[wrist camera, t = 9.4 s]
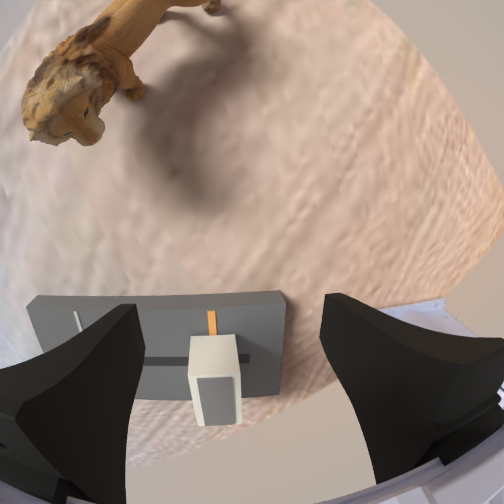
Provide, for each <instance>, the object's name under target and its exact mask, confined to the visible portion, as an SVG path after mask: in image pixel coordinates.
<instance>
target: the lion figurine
mask: <svg viewBox="0 0 504 504" xmlns="http://www.w3.org/2000/svg"><path fill="white" fill-rule="evenodd" d="M199 5H202V7H203V9H204V11H208V12H214V11H216V10H218V8H219V7H220V0H115V1H114V2H113V3H111V4H110V5H109V6H108V7H107V8H106V9H105V10H104V11H103V12H102V13H101V14H100V15H99V16H98V18H97V19H96V20H95V21H94V22H93V23H92V24H91V25H89V26H86V27H84V28H81V29H80V30H78V31H77V33H76V34H75V35H72V36H69V37H68V38H67V39H66V41H64V42H61V43H60V44H58V45H57V47H56V50H54V51H51V52H50V53H49V55H48V56H47V57H45V58H44V59H43V63H42V64H41V65H40V66H39V67H38V68H37V70H36V71H35V76H34V77H33V78H32V79H31V80H29V82H28V84H27V87H26V90H25V93H24V95H23V97H22V100H21V108H22V112H21V115H22V119H23V124H24V125H25V126H26V128H27V129H28V130H29V131H30V134H29V139H30V141H33V140H40V141H41V142H44V143H46V144H51V145H54V146H58V145H59V144H60V143H62V142H65V141H67V140H69V139H70V138H74V139H76V140H77V141H78V142H79V143H80V144H81V145H82V146H91V145H94V144H95V143H97V142H98V141H99V140H100V139H101V137H102V134H103V132H104V131H105V124H104V122H103V121H102V120H101V119H100V118H99V117H98V116H99V114H100V112H101V108H102V107H103V106H104V105H105V104H106V103H108V102H109V101H110V98H111V97H112V96H113V94H114V93H115V92H116V90H117V88H125V89H126V96H127V97H129V99H130V100H137V99H139V98H141V97H143V95H144V87H143V83H142V81H141V80H140V79H139V77H138V76H136V75H135V73H134V70H133V63H132V61H131V60H130V59H129V57H130V56H131V55H132V54H133V53H134V52H135V51H136V50H137V49H138V48H139V47H140V46H141V45H142V44H143V42H144V41H145V40H146V39H147V37H148V36H149V35H150V34H151V32H152V31H153V30H154V28H155V27H156V25H157V24H158V22H159V21H160V19H161V17H162V16H163V15H164V13H165V11H166V10H167V9H168V8H170V7H172V6H181V7H195V6H199Z"/></svg>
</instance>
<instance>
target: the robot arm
mask: <svg viewBox="0 0 504 504" xmlns="http://www.w3.org/2000/svg"><path fill="white" fill-rule="evenodd" d="M445 303H446V301H445V299H444V298H439V299H434V300H429V301H424V302H418V303H413V304H407V305H401V306H395V307H389V308H383V309H375V308H372V307H370V306H368V305H366V304H364V303H362V302H360V301H358V300H356V299H354V298H352V297H349V296H347V295H345V294H342V293H331V294H325V300H324V308H323V315H322V322H321V329H320V336H319V338H320V340H321V343H322V346H323V349H324V352H325V354H326V357H327V359H328V361H329V363H330V364H331V366H332V368H333V370H334V372H335V374H336V375H337V377H338V379H339V381H340V383H341V384H342V386H343V388H344V389H345V392H346V393H347V395H348V397H349V399H350V401H351V403H352V405H353V408H354V410H355V413H356V416H357V418H358V421H359V423H360V426H361V429H362V432H363V435H364V438H365V441H366V444H367V447H368V451H369V455H370V458H371V462H372V466H373V470H374V475H375V479H376V485H375V486H373V487H370V488H367V489H364V490H361V491H358V492H355V493H352V494H349V495H346V496H342V497H338V498H335V499H331V500H328V501H323V502H319V503H315V504H486V503H488V502H489V503H490V504H504V339H503V338H482V337H478V336H477V335H476V334H475V333H474V332H473V331H471V330H470V329H469V328H468V327H467V326H465V325H464V324H463V323H462V322H461V321H459V320H458V319H457V318H456V317H454V316H453V315H452V314H451V313H449V312H448V311H447V310H445V309H444V307H445ZM145 349H146V346H145V342H144V338H143V334H142V329H141V325H140V320H139V315H138V310H137V305H136V304H120V305H118V306H116V307H115V308H113V309H112V310H111V311H109V312H108V313H106V314H105V315H104V316H102V317H101V318H100V319H98V320H97V321H96V322H94V323H93V324H91V325H90V326H89V327H87V328H86V329H84V330H83V331H81V332H80V333H78V334H77V335H75V336H74V337H72V338H71V339H69V340H68V341H66V342H64V343H63V344H61V345H59V346H57V347H56V348H54V349H52V350H50V351H48V352H46V353H44V354H41V355H39V356H37V357H34V358H32V359H30V360H27V361H25V362H22V363H19V364H16V365H13V366H10V367H7V368H3V369H0V504H126V489H125V461H126V443H127V433H128V424H129V419H130V414H131V410H132V406H133V402H134V399H135V395H136V391H137V388H138V384H139V381H140V377H141V373H142V370H143V364H144V357H145Z"/></svg>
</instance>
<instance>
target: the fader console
mask: <svg viewBox="0 0 504 504" xmlns="http://www.w3.org/2000/svg"><path fill="white" fill-rule="evenodd" d="M120 304H136V305H137V310H138V315H139V320H140V325H141V329H142V334H143V338H144V342H145V346H146V349H145V357H144V364H143V370H142V373H141V377H140V381H139V384H138V388H137V391H136V395H135V399H146V400H192V395H191V390H190V385H189V380H188V364H189V351H190V340H191V336H211V335H231V334H235V339H236V346H237V353H238V360H239V367H240V374H241V398H249V397H260V396H269V395H278V394H279V389H280V378H281V367H282V355H283V342H284V328H285V314H286V302H285V300H284V298H283V296H282V294H281V292H280V290H278V291H263V292H245V293H226V294H202V295H172V296H39V295H37V296H36V297H35V298H34V299H33V300H32V301H31V302H30V303H29V304H28V305H27V306H26V308H27V311H28V314H29V316H30V319H31V322H32V325H33V328H34V330H35V333H36V335H37V338H38V340H39V343H40V345H41V348H42V350H43V352H44V353H46V352H48V351H50V350H52V349H54V348H56V347H57V346H59V345H61V344H63V343H64V342H66V341H68V340H69V339H71V338H72V337H74V336H75V335H77V334H78V333H80V332H81V331H83V330H84V329H86V328H87V327H89V326H90V325H91V324H93V323H94V322H96V321H97V320H98V319H100V318H101V317H102V316H104V315H105V314H106V313H108V312H109V311H111V310H112V309H113V308H115V307H116V306H118V305H120Z"/></svg>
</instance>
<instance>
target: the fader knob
mask: <svg viewBox="0 0 504 504" xmlns="http://www.w3.org/2000/svg"><path fill="white" fill-rule="evenodd" d="M188 380H189V385H190V390H191V395H192V400H193V405H194V410H195V414H196V419H197V423H198V426H212V425H232V424H242V404H241V374H240V367H239V360H238V353H237V346H236V339H235V334H231V335H211V336H191V340H190V351H189V364H188Z"/></svg>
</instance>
